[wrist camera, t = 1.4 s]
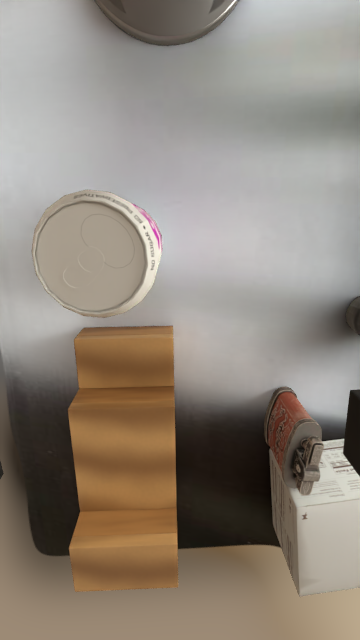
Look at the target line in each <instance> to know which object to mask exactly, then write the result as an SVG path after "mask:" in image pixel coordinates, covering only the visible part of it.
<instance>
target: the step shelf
mask: <svg viewBox="0 0 360 640" xmlns="http://www.w3.org/2000/svg"><path fill="white" fill-rule="evenodd" d="M74 346H75V355H76V364H77V374H78V383H79V390H78V392H77V394H76V396H75V397H74V399H73V401H72V403H71V405H70V407H69V408H68V415H69V424H70V432H71V440H72V448H73V457H74V465H75V473H76V481H77V490H78V498H79V506H80V514H79V517H78V521H77V524H76V527H75V530H74V534H73V537H72V540H71V543H70V547H69V552H70V559H71V566H72V574H73V581H74V588H75V591H76V592H79V591H100V590H101V591H103V590H123V589H124V590H125V589H148V588H172V587H178V546H177V509H176V452H175V400H174V355H173V326H145V327H95V328H83V329H82V330H81V332H80V333H79V334H78V335H77V337H76V338H75V339H74Z"/></svg>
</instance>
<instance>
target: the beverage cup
mask: <svg viewBox="0 0 360 640" xmlns="http://www.w3.org/2000/svg"><path fill="white" fill-rule="evenodd" d="M346 320H347V323H348V325H349V327H350V328H352V329H353V330H354V331H355V332H356V333H357V334H358V335H360V296H359V297H357V298H356V299H354V300H353V301H352V303H351V304H350V305H349V307H348V309H347V312H346Z"/></svg>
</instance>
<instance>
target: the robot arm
mask: <svg viewBox="0 0 360 640" xmlns="http://www.w3.org/2000/svg"><path fill="white" fill-rule="evenodd" d="M238 1H239V0H95V2H96V3H97V5H98V6H99V7H100V9H101V10H102V11H103V12H104V14H105V15H106V16H107V17H108V18H109V19H110V20H111V21H112V22H113V23H114V24H115V25H116V26H118V27H119V28H120V29H122V30H123V31H124V32H126V33H127V34H129V35H131V36H133V37H135V38H137V39H139V40H141V41H144V42H148V43H151V44H156V45H166V46H169V45H180V44H185V43H188V42H192V41H194V40H197V39H199V38H201V37H203V36H205V35H206V34H208V33H209V32H211V31H212V30H214V29H215V28H216V27H217V26H218V25H220V24H221V23H222V22H223V21H224V20H225V19H226V18H227V16H228V15H229V14H230V13H231V11H232V10H233V9H234V7H235V6H236V4H237V3H238ZM343 454H344V456H345V457H346V459H347V460H348V461H349V463H350V464H351V466H352V467H353V468H354V470H355V471H356V472H357V474H358V475H359V477H360V390H350V396H349V405H348V413H347V422H346V430H345V439H344V447H343ZM2 475H3V470H2V466H1V462H0V478H1V477H2Z"/></svg>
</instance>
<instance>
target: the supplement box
mask: <svg viewBox="0 0 360 640" xmlns="http://www.w3.org/2000/svg"><path fill="white" fill-rule="evenodd" d="M323 444H324V449H323V452H322V456H321V460H320V463H319V470H320V480H319V481H318V482H314V485H313V488H312V492H311V494H310V495H301V494H300V493H299V490H298V488H297V489H294V488H290V487H288V486H287V485H286V484H285V483H284V480H283V478H282V472H281V470H280V467H279V465H278V463H277V461H276V459H275V456H274V454H273V452H272V450H271V448H270V449H269V455H270V475H271V496H272V516H273V526H274V529H275V532H276V534H277V537H278V540H279V543H280V545H281V548H282V551H283V554H284V556H285V559H286V562H287V564H288V567H289V570H290V573H291V576H292V578H293V581H294V583H295V586H296V589H297V592H298V594H299V596H306V595H313V594H319V593H326V592H333V591H340V590H347V589H354V588H360V477H359V475H358V474H357V472H356V471H355V470H354V468H353V467H352V466H351V464H350V463H349V461H348V460H347V459H346V457H345V456H344V454H343V447H344V439H338V440H330V441H323Z"/></svg>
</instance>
